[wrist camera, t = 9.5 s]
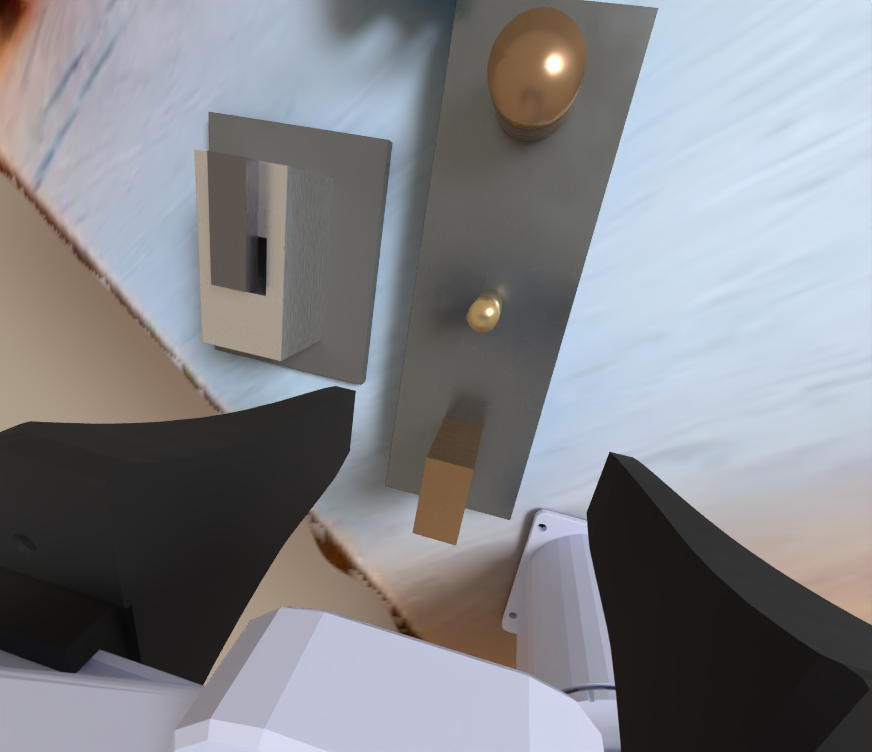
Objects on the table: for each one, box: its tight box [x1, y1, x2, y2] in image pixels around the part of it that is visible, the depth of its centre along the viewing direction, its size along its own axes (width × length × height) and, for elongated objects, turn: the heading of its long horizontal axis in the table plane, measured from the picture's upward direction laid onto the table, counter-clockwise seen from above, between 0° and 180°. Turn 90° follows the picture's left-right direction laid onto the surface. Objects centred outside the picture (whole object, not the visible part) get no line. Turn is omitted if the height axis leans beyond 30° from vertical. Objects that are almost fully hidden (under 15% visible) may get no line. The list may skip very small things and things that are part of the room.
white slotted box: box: [194, 150, 333, 361], centre depth 19 cm, size 8×4×5 cm, turn 170°
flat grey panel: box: [209, 112, 392, 385], centre depth 21 cm, size 12×9×1 cm
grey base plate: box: [385, 0, 658, 545], centre depth 18 cm, size 22×7×6 cm, turn 170°
